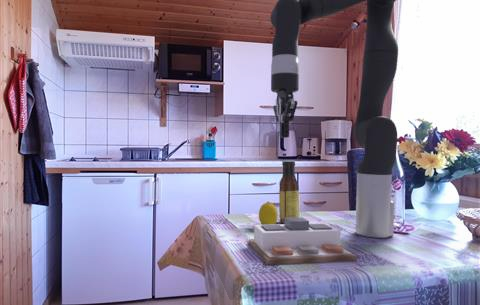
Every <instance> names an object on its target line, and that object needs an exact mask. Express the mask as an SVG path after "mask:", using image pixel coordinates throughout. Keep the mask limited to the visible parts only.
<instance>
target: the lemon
mask: <svg viewBox="0 0 480 305" xmlns="http://www.w3.org/2000/svg"><path fill="white" fill-rule="evenodd" d="M258 220H259V222H260V225H272V224H276V223H277V220H278V209H277V207H276V205H275V204H274V203H271V202H270V201H266V202H265V203H263V204H262V205H261V206H260V208H259V211H258Z"/></svg>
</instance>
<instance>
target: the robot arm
mask: <svg viewBox="0 0 480 305" xmlns="http://www.w3.org/2000/svg"><path fill="white" fill-rule="evenodd" d="M396 1H397V0H277V2H276V3H275V6H274V8H273V9H272V11H271V12H270V23H271V25H272V26H273V28H274V30H275V32H274V36H273V38H272V45H271V46H272V49H271V52H272V53H271V56H272V58H271V65H270V70H271V71H270V91H271V92H272V93H276V94H277V95H276V99H275V105H273V106H272V109H273V113H274V117H275V120H276V122H277V123H278V124H279V137H280V138H281V139H282V138H286V139H287V138H289V137H290V124H291V121H293V120H294V117H295V113H296V111H297V110H296V109H297V106H298V101H297V100H295V98H294V93H297V92H298V91H299V88H300V86H299V83H300V80H299V79H300V75H299V74H300V73H299V72H300V68H299V66H300V64H299V63H300V62H299V34H300V27H301V26H302V25H303V24H306V23H308V22H310V21H313V20H317V19H321V18H325V17H328V16H332V15H336V14H337V13H340V12H343V11H345V10H347V9H349V8H351V7H354V6H356V5H357V4H360V3H364V2H366V29H365V40H364V49H363V56H362V68H361V69H362V72H361V81H360V82H361V84H360V91H359V92H360V94H359V103H358V108H357V112H356V113H357V114H356V118H355V123H354V127H353V128H354V129H353V138H354V141H355V143H356V145H357V146H358V147H359V148H360V149H363V150H364V155H363V157H362V160H360V161H359V162H358V163H357V167H356V168H357V169H356V170H357V173H356V203H355V233H356V234H358V235H359V236H363V237H367V238H375V239H377V238H381V239H383V238H384V239H385V238H389V237H394V229H395V228H394V226H395V225H394V224H395V222H394V220H395V202H394V201H393V200H392V184H393V183H392V179H393V168H394V166H395V164H396V160H397V148H398V131H397V126H396V124H395V122H394V121H393V119H391V118H389V117H387V116H383V109H384V104H385V99H386V97H387V94H388V92H389V91H390V88H391V86H392V83H393V81H394V79H395V77H396V74H397V69H398V59H399V58H398V57H399V45H398V41H397V38H396V36H395V33H394V31H393V28H392V17H393V9H394V4H395V2H396Z"/></svg>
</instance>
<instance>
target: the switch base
mask: <svg viewBox="0 0 480 305" xmlns="http://www.w3.org/2000/svg"><path fill="white" fill-rule="evenodd" d="M248 244H249V245H250V247H251V248H252V249H253V250H254V251H255V252H256V253H257V255H258V256H259V257H260V258H261V259H262V261H263V262H264V263H265V264H266V265H268V266H269V265H284V264H286V265H288V264H307V263H326V262H327V263H328V262H350V261H352V262H353V261H357V259H358V258H357V257H358V256H357V255H356V254H354V253H353V252H351V251H349V250H348V249H346V248H344V247H342V246H341V245H340V246H339V245H337V244H331V245H322V248H320V249H317V248H316V247H315V246H313V245H303V246H297V249H294V250H292V249H291V248H290V247H288V246H275V247H272V250H268V251H262V250H261V249H260V247H259V246H258V245H257V244H256V243H255V242H254V238H252V239H251V238H249V239H248Z"/></svg>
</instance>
